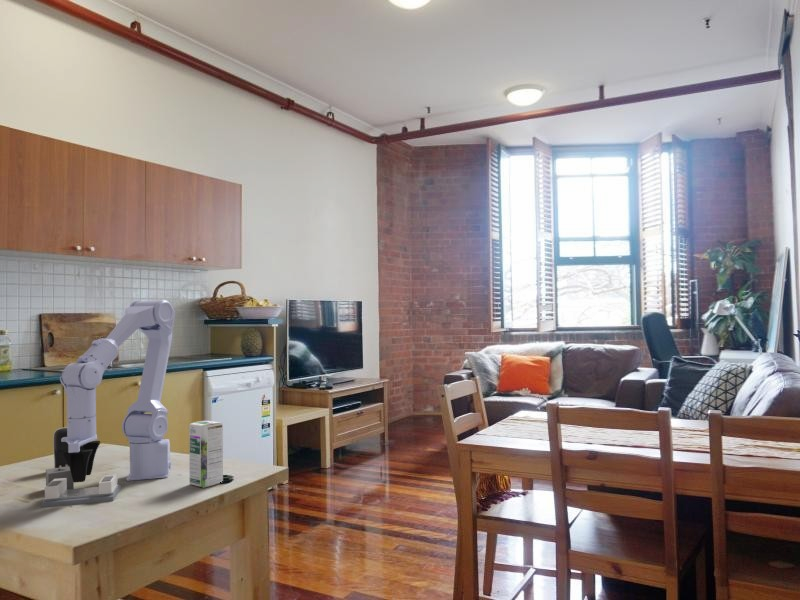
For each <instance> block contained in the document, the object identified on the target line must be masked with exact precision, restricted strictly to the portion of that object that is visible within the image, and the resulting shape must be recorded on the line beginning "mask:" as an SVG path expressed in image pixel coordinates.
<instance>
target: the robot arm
mask: <svg viewBox="0 0 800 600" xmlns="http://www.w3.org/2000/svg"><path fill="white" fill-rule="evenodd" d="M124 314H125V315H124V316H123V317H122V318H121V319H120V321H118V323H117V324H116V325H115V327H114V328H113V329H112V330H111V331H110V333H108V335H107V336H106V337H105V338H99V339H94V340H93V341H92V342H91V346H90V347H89V348H88V349H87V350H86V351H85V352H84V353H83V354H82V355H79V357H78V358H77V361H76V362H71V363H69V364H67V365H66V367H64V369H63V370H62V372H61V375H60V376H59V382H60V383H61V385H62V386H63V388H64V395H65V396H66V427H67V437H63V438H62V439H61V442H67V443H68V450H64V451H63V456H64V457H65V459H66V461H67V462H68V465H69V467H70V471H71V475H72V479H73V482H74V483H85V481H86V478H87V476H90V475H92V471H93V467H94V461H95V457H96V453H97V451H98V448H99V446H100V444H101V441H100V440H98V434H97V387H98V386H99V385H101V383H102V380H103V374H104V373H105V370H106V369H107V368H108V367H109V366H110V364H111V363H112V362H113V361H114V360H115V359H116V358H117V357H118V356H119V355H120V354H119V352H120V351H119V350H120V349H119V347H120V346H121V345H122V344H124V342H126V341H127V340H128V339H129V338H130V337H131V336H132V335H133V334H134V333H135V332H136V331H137V330H139V331H140V332H142V333H143V334H144V335H145V336H146V337H147V338H148V343H147V348H146V349H147V350H146V354H145V358H144V359H145V360H144V364H143V368H142V374H141V379H140V384H139V390H138V395H137V400H135V402H133V403H132V404H131V405H129V407H128V408H127V413H126V415H125V417H124V418H123V420H122V424H121V431H122V435H124V437H126V439H127V440H126V441H127V442H129V473H128V476H126V478H125V481H127V482H130V481H141V480H151V479H163V478H168V477H169V474H170V472H171V470H172V469H171V468H172V462H171V443H170V439H168V438H165V439H164V436H165V435H166V434H167V432H168V429H169V423H168V422H169V421H168V412H169V410H168V409H167V408H166V407H165V406H164V405H163V404H162V402H161V400H162V394H163V390H164V384H165V378H166V374H167V367H168V362H169V358H170V357H169V356H170V351H171V347H172V341H173V329H174V322H175V318H176V310H175V308H174V307H173V305H172V304H171V303H170V301H169V300H166V299H160V300H135V301H132V302H131V303H130V305H129V306H127V308H125V312H124Z"/></svg>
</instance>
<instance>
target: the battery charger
mask: <svg viewBox="0 0 800 600" xmlns="http://www.w3.org/2000/svg"><path fill="white" fill-rule="evenodd" d="M63 437H67V426H65V427H60V428H57V429H56V430H55V431H54V433H53V438H52V439H53V440H52V441H53V443H52V444H53V445H52V446H53V447H52V449H53V450H52V451H53V465H54V466H53V468H60V467H66V466H69V465H68V462H67V461H66V459H65V457H64V456H63V451H64V450H68V443H67V442H61V439H62V438H63Z"/></svg>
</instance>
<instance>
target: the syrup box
mask: <svg viewBox="0 0 800 600" xmlns="http://www.w3.org/2000/svg"><path fill="white" fill-rule="evenodd" d="M188 429H189V430H188V431H189V432H188V433H189V435H188V436H189V437H188V438H189V445H188V446H189V457H188V458H189V460H188V461H189V462H188V463H189V464H188V465H189V476H188V477H189V483H188V484H189V485H190V486H192V485H193V486H195V487H201V488H203V489H204V488H208V487H212V486H215V485H219V484H221V483H223V482H224V454H223V453H224V450H223V449H224V443H223V442H224V441H223V440H224V438H223V437H224V434H223V433H224V430H223V429H224V423H223V422H220V421H213V420H199V421H198V420H197V421H195V422H192V423H189V427H188ZM222 481H223V482H222ZM220 482H221V483H220Z"/></svg>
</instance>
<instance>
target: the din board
mask: <svg viewBox="0 0 800 600" xmlns="http://www.w3.org/2000/svg"><path fill="white" fill-rule="evenodd" d="M121 489H122V487H121V485H119V484H118V485H117V486H116V487H115V489H114V490H113V492H112V493H108V494H99V486H93V487H91V486H90V487H81V488H74V489H67V490H65V491H64V492H63V493H62V494H61V495H60V497H59V498H54V499H45V497H44V498H43V500H42V502H41V503H40V508H47V507H58V506H72V505H81V504H83V505H84V504H94V503H103V502H104V503H105V502H106V503H107V502H113V501H115V499H116V497H117V495H119V493H120V491H121Z"/></svg>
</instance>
